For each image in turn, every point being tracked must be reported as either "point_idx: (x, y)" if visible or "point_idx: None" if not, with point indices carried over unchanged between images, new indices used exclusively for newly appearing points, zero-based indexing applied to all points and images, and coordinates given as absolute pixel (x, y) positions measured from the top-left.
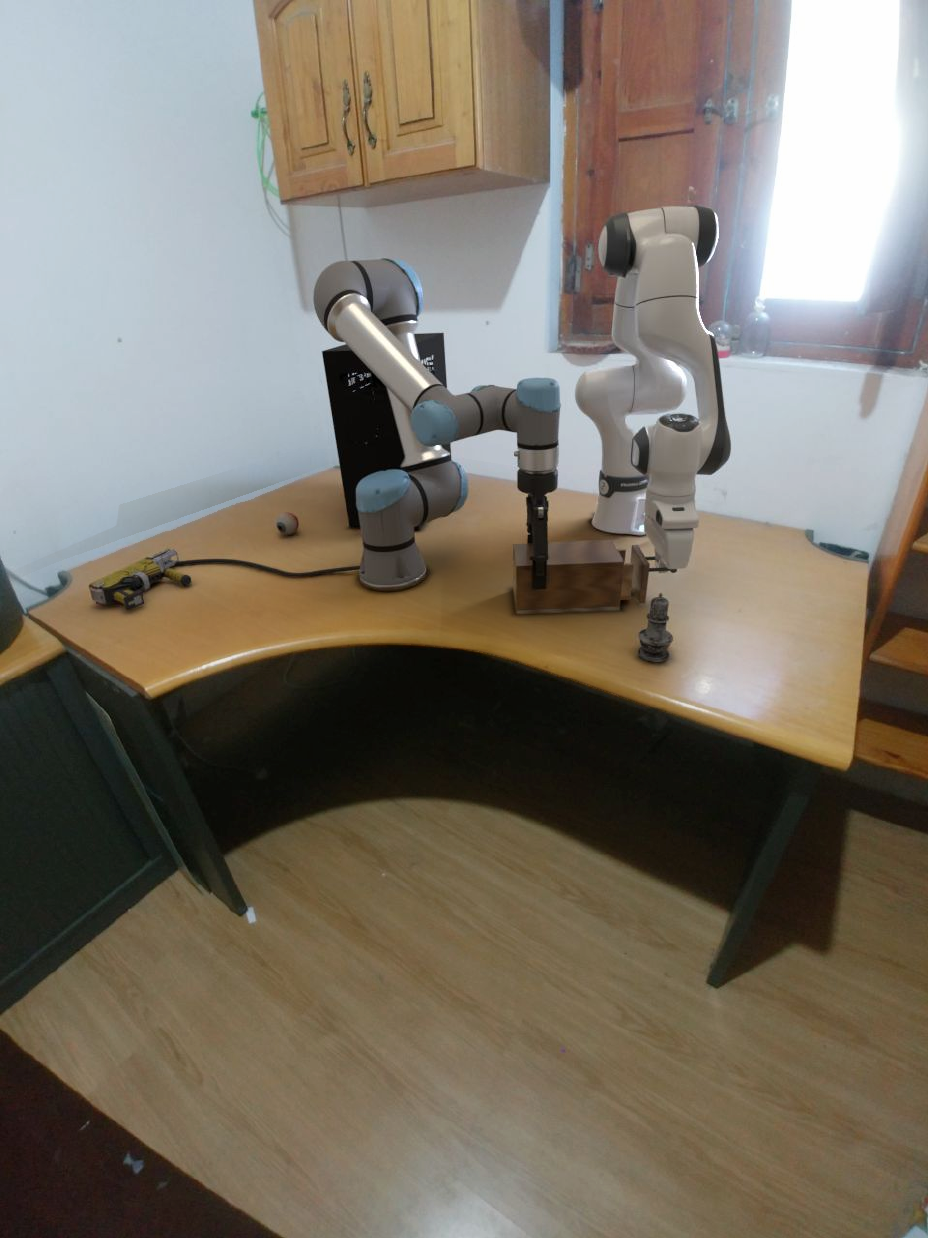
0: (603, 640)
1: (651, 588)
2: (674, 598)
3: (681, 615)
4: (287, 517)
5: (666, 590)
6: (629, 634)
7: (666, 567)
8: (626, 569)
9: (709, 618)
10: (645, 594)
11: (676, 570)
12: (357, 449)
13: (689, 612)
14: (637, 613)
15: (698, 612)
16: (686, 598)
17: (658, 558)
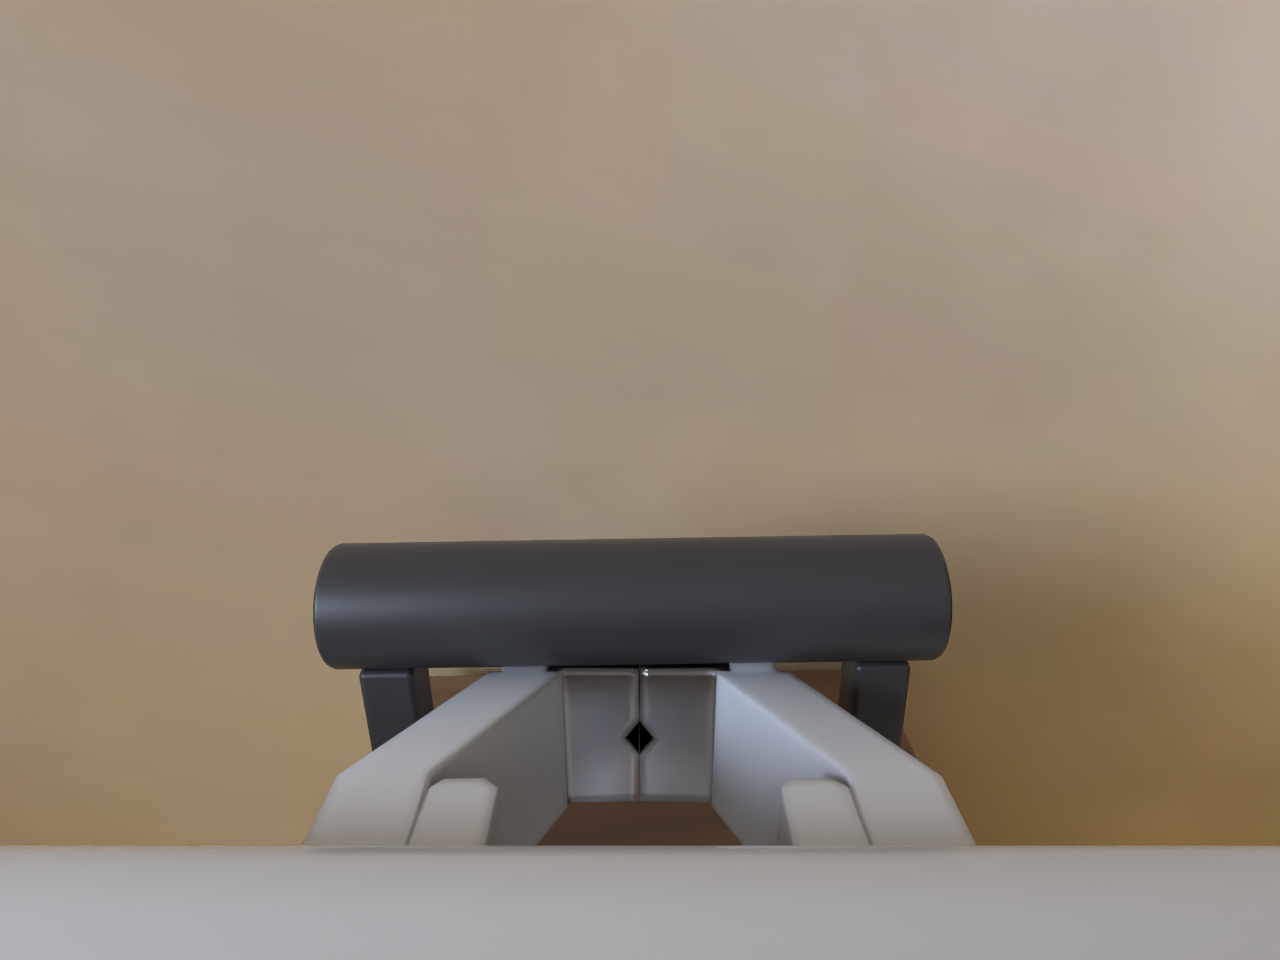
0: None
1: (471, 500)
2: (710, 326)
3: (1077, 356)
4: None
5: (519, 362)
6: (1246, 819)
7: (866, 713)
8: None
9: (1225, 65)
10: (906, 740)
11: (931, 544)
12: None
13: (1039, 254)
14: (946, 711)
15: (1063, 152)
16: (723, 191)
17: (548, 794)
